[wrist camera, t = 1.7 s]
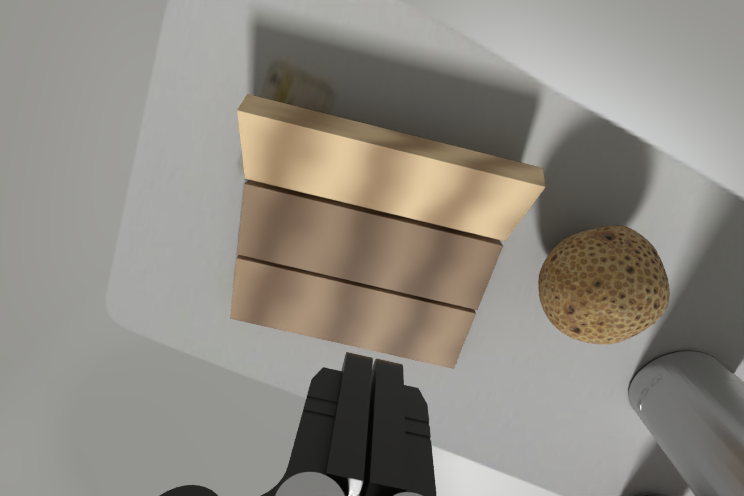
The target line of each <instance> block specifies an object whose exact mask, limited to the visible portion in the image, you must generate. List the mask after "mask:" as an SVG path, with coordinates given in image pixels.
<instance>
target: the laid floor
mask: <svg viewBox="0 0 744 496" xmlns="http://www.w3.org/2000/svg"><path fill="white" fill-rule="evenodd" d="M502 247H503V245H502V244H501V242H500V240H498V239H494V238H490V237H486V236H482V235H477V234H473V233H469V232H465V231H461V230H457V229H453V228H448V227H444V226H440V225H436V224H432V223H428V222H424V221H419V220H415V219H411V218H407V217H403V216H399V215H394V214H390V213H386V212H382V211H378V210H374V209H370V208H365V207H361V206H357V205H353V204H349V203H345V202H341V201H336V200H332V199H328V198H324V197H320V196H316V195H311V194H307V193H303V192H299V191H295V190H291V189H287V188H282V187H278V186H274V185H270V184H266V183H262V182H258V181H253V180H249V181H248V182H246V183H245V184H244V193H243V203H242V212H241V222H240V231H239V240H238V250H237V254H238V255H239V256H238V257H237V259H236V268H235V278H234V287H233V296H232V306H231V315H230V319H235V320H239V321H243V322H248V323H252V324H257V325H261V326H266V327H270V328H275V329H279V330H283V331H288V332H292V333H297V334H301V335H306V336H310V337H315V338H319V339H323V340H328V341H332V342H337V343H341V344H346V345H350V346H355V347H359V348H363V349H368V350H372V351H377V352H381V353H386V354H390V355H395V356H399V357H403V358H408V359H412V360H417V361H421V362H426V363H430V364H435V365H439V366H444V367H448V368H452V369H454V367H455V364H456V362H457V359H458V357H459V354H460V352H461V349H462V347H463V344H464V342H465V339H466V337H467V334H468V332H469V329H470V327H471V324H472V322H473V319H474V317H475V314H476V313H475V310H477V309H478V307H479V305H480V302H481V300H482V297H483V295H484V292H485V290H486V287H487V285H488V282H489V280H490V277H491V275H492V272H493V270H494V267H495V265H496V262H497V260H498V257H499V255H500V252H501V250H502ZM474 309H475V310H474Z"/></svg>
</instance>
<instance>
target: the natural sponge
mask: <svg viewBox="0 0 744 496" xmlns="http://www.w3.org/2000/svg"><path fill="white" fill-rule="evenodd" d="M669 296H670V292H669V284H668V278H667V275H666V272H665V269H664V266H663V264H662V261H661V259H660V257H659V255H658V253H657V251H656V249H655V248H654V247H653V245H652V244H651V243H650V242H649V241H648V240H647V239H645V238H644V237H643V236H642V235H640V234H639V233H637V232H636V231H634V230H632V229H630V228H628V227H625V226H617V225H615V226H604V227H599V228H594V229H590V230H586V231H582V232H579V233H575V234H573V235H570V236H568V237H567V238H565V239H563V240H562V241H561V242H560V243H559V244H558V245H556V246H555V248H554V249H553V250H552V251H551V253H550V254H549V255H548V257H547V258H546V260H545V262H544V263H543V266H542V268H541V270H540V274H539V297H540V302H541V304H542V307H543V310H544V312H545V314H546V315H547V317H548V319H549V320H550V322H551V323H552V324H553V325H554V326H555V327H556V328H557V329H558V330H560V331H561V332H562V333H564V334H565V335H567V336H569V337H571V338H573V339H576V340H580V341H583V342H587V343H594V344H613V343H618V342H621V341H623V340H626V339H629V338H631V337H633V336H635V335H637V334H639V333H640V332H642V331H644V330H645V329H647V328H648V327H650V326H651V325H653V324H654V323H655V322H656V321H657V320H658V319H659V318H660V317H661V316H662V315H663V313H664V312H665V310H666V308H667V304H668V302H669Z"/></svg>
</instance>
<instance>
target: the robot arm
mask: <svg viewBox="0 0 744 496" xmlns="http://www.w3.org/2000/svg"><path fill="white" fill-rule="evenodd" d="M372 364H373V358H371V357H366V356H362V355H357V354H353V353H348V352H346V355H345V359H344V363H343V367H342V371H338V370H333V369H329V368H324V367H323V368H322V369H321V370H320V371H319V372H318V373H317V374H316V375H315V376H314V377H313V379H312V380H311V384H310V387H309V391H308V395H307V399H306V402H305V406H304V409H303V413H302V417H301V420H300V424H299V428H298V431H297V435H296V439H295V442H294V446H293V450H292V453H291V457H290V461H289V464H288V468H287V471H286V473H285V474H284V476H283V478H282V479H281V481H280V482H279V483H278V484H277V485H276V486H275V487H274V488H273V489H271V490H270V491H269V492H267V493H265V494H263V495H261V496H436V486H435V477H434V466H433V456H432V446H431V440H430V437H431V436H430V426H429V416H428V406H427V403H426V401H425V400H424V398H423V396H422V394H421V392H420V390H419V389H418V388H415V387H411V386H406V385H404V379H403V365H402V364H398V363H393V362H389V361H385V360H380V359H376V360H375V362H374V365H373V369H372ZM629 401H630V404H631V406H632V408H633V409H634V411H635V412H636V413H637V415H638V416H639V417H640V419H641V420H642V422H643V423H644V424H645V426H646V427H647V429H648V430H649V431H650V433H651V434H652V436H653V437H654V439H655V440H656V442H657V443H658V444H659V446H660V447H661V449H662V450H663V451H664V453H665V454H666V456H667V457H668V458H669V460H670V461H671V463H672V464H673V465H674V467H675V468H676V470H677V471H678V472H679V474H680V475H681V476H682V478H683V479H684V481H685V482H686V483H687V485H688V486H689V488H690V489H691V490H692V492H693V493H694V495H695V496H744V382H743V381H742V380H741V379H739V378H738V377H737V376H736V375H735V374H732V373H731V372H730V371H729V370H728V369H727V368H726V367H724V366H723V365H722V364H721V363H720V362H719V361H718V360H716V359H715V358H714V357H712V356H710V355H708V354H705V353H700V352H693V351H684V352H675V353H672V354H668V355H665V356H662V357H660V358H658V359H655V360H654V361H652V362H651V363H649V364H647V365H646V366H645V367H644V368H643V369H641V370H640V371H639V372H638V374H637V375H636V376H635V377H634V379H633V381H632V383H631V385H630V388H629ZM160 496H218V495H217V494H216V493H214V492H213V491H212V490H210V489H208V488H206V487H202V486H197V485H186V486H181V487H177V488H174V489H171V490H169V491H167V492H165V493H163V494H162V495H160Z"/></svg>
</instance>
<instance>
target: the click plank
mask: <svg viewBox="0 0 744 496" xmlns="http://www.w3.org/2000/svg"><path fill="white" fill-rule="evenodd" d="M237 113H238V122H239V130H240V139H241V148H242V156H243V165H244V173H245V179H249V180H253V181H258V182H262V183H266V184H270V185H274V186H278V187H282V188H287V189H291V190H295V191H299V192H303V193H307V194H311V195H316V196H320V197H324V198H328V199H332V200H336V201H341V202H345V203H349V204H353V205H357V206H361V207H365V208H370V209H374V210H378V211H382V212H386V213H390V214H394V215H399V216H403V217H407V218H411V219H415V220H419V221H424V222H428V223H432V224H436V225H440V226H444V227H448V228H453V229H457V230H461V231H465V232H469V233H473V234H477V235H482V236H486V237H490V238H494V239H498V240H502V241H505V240H506V239H507V238H508V236H509V235H510V234H511V232H512V231H513V230H514V228H515V227H516V226H517V224H518V223H519V222H520V220H521V219H522V218H523V216H524V215H525V214H526V212H527V211H528V210H529V208H530V207H531V206H532V204H533V203H534V202H535V200H536V199H537V198H538V196H539V195H540V194H541V192H542V191H543V190H544V188H545V180H544V173H543V168H540V167H536V166H533V165H529V164H525V163H521V162H517V161H513V160H509V159H505V158H501V157H497V156H493V155H489V154H485V153H481V152H477V151H473V150H469V149H465V148H461V147H457V146H453V145H449V144H445V143H441V142H437V141H433V140H429V139H425V138H421V137H417V136H413V135H409V134H405V133H401V132H397V131H393V130H389V129H385V128H381V127H377V126H373V125H369V124H365V123H361V122H357V121H353V120H349V119H345V118H341V117H337V116H333V115H329V114H325V113H321V112H317V111H313V110H309V109H305V108H301V107H297V106H293V105H289V104H285V103H281V102H277V101H273V100H269V99H265V98H261V97H257V96H253V95H249V94H247V95H246V97H245V99H244V100H243V102H242V103H241V105H240V107H239V108H238V110H237Z"/></svg>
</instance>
